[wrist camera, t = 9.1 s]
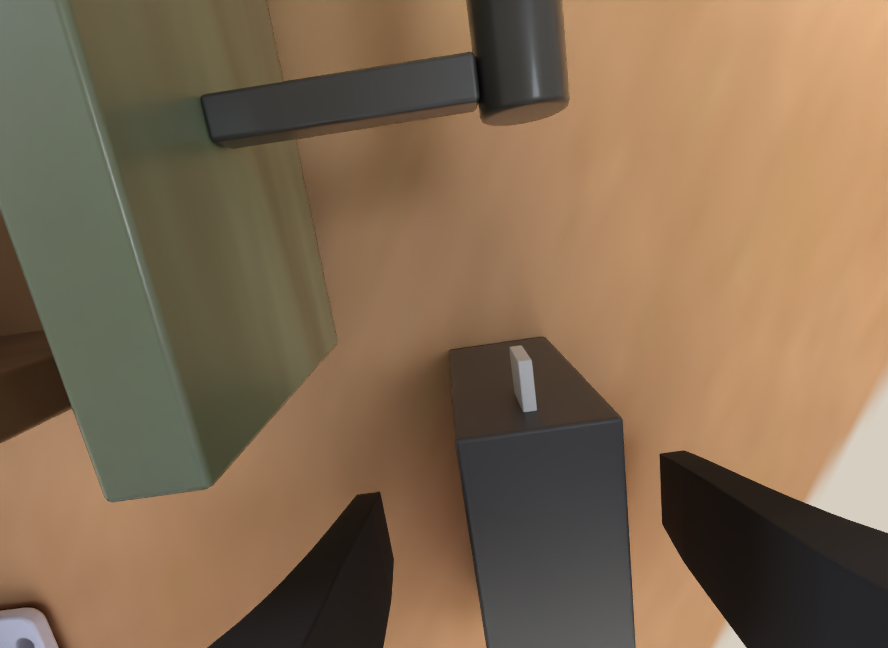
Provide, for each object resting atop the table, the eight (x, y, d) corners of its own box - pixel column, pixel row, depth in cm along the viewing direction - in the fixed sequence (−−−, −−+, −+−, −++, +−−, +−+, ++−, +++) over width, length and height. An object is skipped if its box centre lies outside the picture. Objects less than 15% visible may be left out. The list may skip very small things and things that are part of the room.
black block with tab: (570, 585, 13) (648, 796, 8) (483, 596, 13) (509, 812, 8) (543, 302, 11) (624, 361, 6) (441, 317, 11) (443, 387, 6)
